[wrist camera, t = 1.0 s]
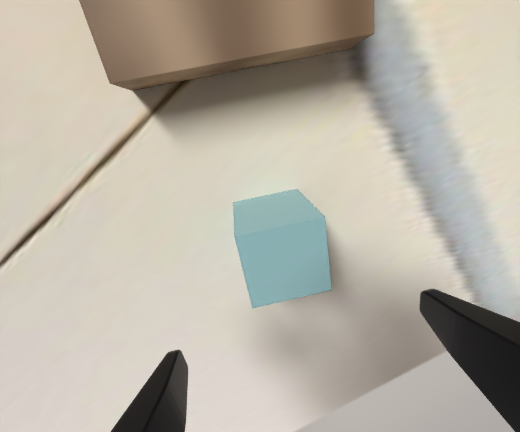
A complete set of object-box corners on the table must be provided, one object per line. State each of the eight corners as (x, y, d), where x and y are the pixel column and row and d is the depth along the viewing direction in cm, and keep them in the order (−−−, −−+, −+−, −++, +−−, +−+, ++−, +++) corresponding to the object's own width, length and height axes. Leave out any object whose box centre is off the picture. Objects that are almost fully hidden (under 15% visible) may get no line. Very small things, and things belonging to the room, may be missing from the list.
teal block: (296, 188, 19) (324, 216, 13) (304, 244, 21) (331, 290, 15) (233, 202, 19) (234, 236, 13) (246, 257, 20) (252, 308, 15)
